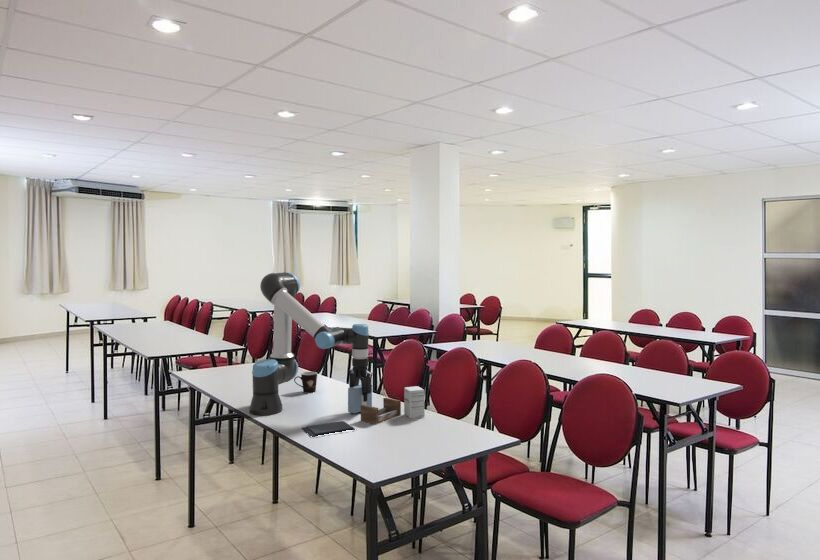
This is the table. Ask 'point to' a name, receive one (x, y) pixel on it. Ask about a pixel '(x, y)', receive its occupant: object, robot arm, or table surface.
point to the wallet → (327, 428)
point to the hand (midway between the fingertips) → (360, 407)
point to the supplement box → (414, 402)
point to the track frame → (381, 411)
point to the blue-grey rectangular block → (357, 399)
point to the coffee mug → (308, 381)
